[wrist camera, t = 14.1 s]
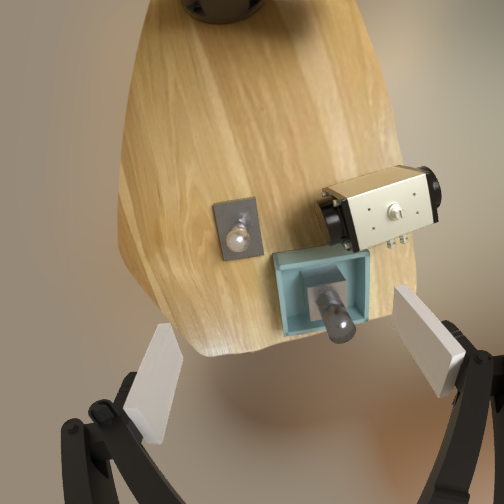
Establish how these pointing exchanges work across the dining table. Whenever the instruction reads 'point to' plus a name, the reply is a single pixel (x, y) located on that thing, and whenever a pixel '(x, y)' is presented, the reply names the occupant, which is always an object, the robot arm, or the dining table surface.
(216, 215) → the stud plate
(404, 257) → the dining table surface
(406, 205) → the ball valve
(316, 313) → the block with domed cylinder
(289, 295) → the bin
